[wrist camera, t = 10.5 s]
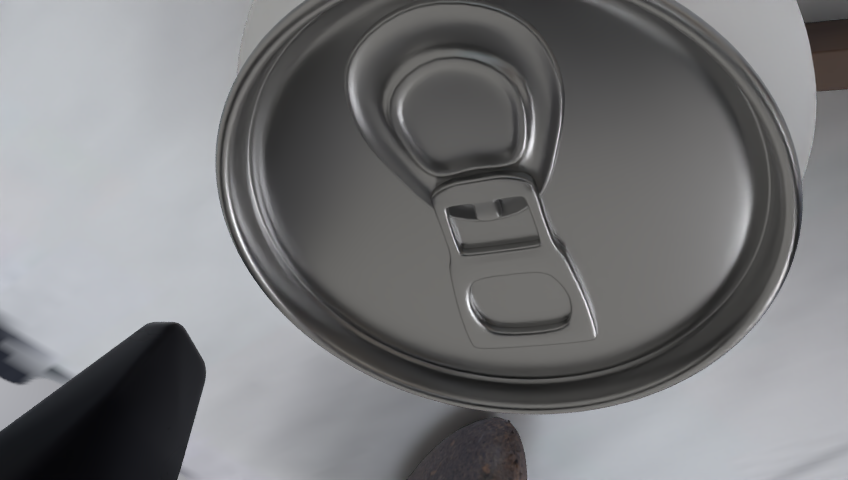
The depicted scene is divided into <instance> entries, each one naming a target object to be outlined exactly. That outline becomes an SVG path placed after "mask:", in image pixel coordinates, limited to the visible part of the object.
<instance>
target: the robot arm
mask: <svg viewBox="0 0 848 480" xmlns="http://www.w3.org/2000/svg"><path fill="white" fill-rule="evenodd" d="M205 378H206V367H205V363H204V361H203V359H202V357H201V355H200V354H199V352H198V350H197V349H196V347H195V345H194V343H193V342H192V340H191V338H190V337H189V335H188V333H187V331H186V330H185V328H184V327H183V326H182V325H180V324H179V323H176V322H152V323H149V324H146V325H145V326H143V327H142V328H140V329H139V330H138V331H136V332H135V333H134V334H132V335H131V336H130V337H128V338H127V339H126V340H124V341H123V342H121V343H120V344H119V345H117V346H116V347H115V348H113V349H112V350H111V351H109V352H108V353H106V354H105V355H104V356H102V357H101V358H100V359H98V360H97V361H96V362H94V363H93V364H91V365H90V366H89V367H87V368H86V369H85V370H83V371H82V372H81V373H79V374H78V375H77V376H75V377H74V378H72V379H71V380H70V381H68V382H67V383H66V384H64V385H63V386H62V387H60V388H59V389H57V390H56V391H55V392H53V393H52V394H51V395H50V396H48V397H47V398H45V399H44V400H43V401H41V402H40V403H39V404H37V405H36V406H34V407H33V408H32V409H31V410H29V411H28V412H26V413H25V414H23V415H22V416H21V417H19V418H18V419H17V420H15V421H14V422H13V423H11V424H10V425H8V426H7V427H6V428H4V429H3V430H2V431H0V480H177V479H178V475H179V472H180V469H181V466H182V462H183V458H184V455H185V451H186V448H187V444H188V440H189V437H190V433H191V430H192V426H193V422H194V419H195V415H196V412H197V408H198V404H199V401H200V397H201V394H202V390H203V386H204V383H205Z"/></svg>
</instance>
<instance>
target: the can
mask: <svg viewBox="0 0 848 480" xmlns="http://www.w3.org/2000/svg"><path fill="white" fill-rule="evenodd" d="M816 105H817V97H816V81H815V72H814V66H813V60H812V54H811V48H810V43H809V39H808V35H807V31H806V27H805V24H804V21H803V18H802V15H801V12H800V9H799V7H798V4H797V1H796V0H254V1H253V4H252V6H251V9H250V12H249V15H248V17H247V21H246V24H245V28H244V32H243V36H242V40H241V46H240V52H239V60H238V69H237V77H236V79H235V81H234V83H233V85H232V87H231V89H230V92H229V94H228V97H227V100H226V102H225V105H224V109H223V112H222V116H221V120H220V124H219V129H218V135H217V144H216V179H217V188H218V194H219V199H220V204H221V208H222V212H223V216H224V219H225V222H226V225H227V228H228V230H229V233H230V236H231V238H232V240H233V242H234V245H235V247H236V249H237V251H238V253H239V255H240V257H241V258H242V260H243V262H244V264H245V265H246V267H247V269H248V270H249V272H250V273H251V275H252V276H253V278H254V279H255V281H256V282H257V284H258V285H259V286H260V288H261V289H262V290H263V292H264V293H265V294H266V295H267V297H268V298H269V299H270V300H271V301H272V302H273V304H274V305H275V306H276V307H277V308H278V309H279V310H280V311H281V312H282V313H283V314H284V315H285V316H286V317H287V318H288V319H289V320H290V321H291V322H292V323H293V324H294V325H295V326H296V327H297V328H298V329H300V330H301V331H302V332H303V333H304V334H305V335H307V336H308V337H309V338H310V339H312V340H313V341H314V342H316V343H317V344H318V345H320V346H321V347H322V348H324V349H325V350H327V351H328V352H329V353H331V354H332V355H334V356H336V357H337V358H339V359H340V360H342V361H343V362H345V363H347V364H348V365H350V366H352V367H354V368H356V369H357V370H359V371H361V372H363V373H365V374H367V375H369V376H371V377H373V378H375V379H377V380H379V381H382V382H384V383H386V384H388V385H391V386H393V387H396V388H398V389H401V390H403V391H406V392H409V393H412V394H415V395H418V396H421V397H424V398H427V399H431V400H434V401H438V402H442V403H446V404H450V405H454V406H459V407H464V408H470V409H475V410H482V411H490V412H499V413H511V414H560V413H572V412H580V411H587V410H594V409H600V408H605V407H609V406H614V405H618V404H622V403H626V402H630V401H633V400H636V399H640V398H642V397H645V396H648V395H651V394H654V393H656V392H659V391H661V390H664V389H666V388H669V387H671V386H673V385H675V384H677V383H679V382H681V381H683V380H685V379H687V378H689V377H691V376H693V375H694V374H696V373H698V372H699V371H701V370H703V369H704V368H706V367H707V366H709V365H710V364H712V363H713V362H715V361H716V360H718V359H719V358H720V357H722V356H723V355H724V354H725V353H727V352H728V351H729V350H730V349H732V348H733V347H734V346H735V345H736V344H737V343H738V342H739V341H741V340H742V339H743V338H744V337H745V336H746V335H747V334H748V333H749V332H750V331H751V329H752V328H753V327H754V326H755V325H756V324H757V323H758V321H759V320H760V319H761V318H762V316H763V315H764V314H765V313H766V311H767V310H768V308H769V307H770V305H771V304H772V302H773V301H774V299H775V298H776V296H777V294H778V293H779V291H780V289H781V287H782V285H783V283H784V281H785V279H786V277H787V275H788V272H789V270H790V267H791V265H792V262H793V259H794V256H795V252H796V249H797V245H798V240H799V236H800V229H801V223H802V210H803V194H802V180H803V177H804V174H805V171H806V168H807V164H808V160H809V157H810V153H811V149H812V144H813V139H814V132H815V124H816Z"/></svg>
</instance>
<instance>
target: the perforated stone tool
mask: <svg viewBox="0 0 848 480" xmlns="http://www.w3.org/2000/svg"><path fill="white" fill-rule="evenodd" d="M407 480H527V469H526V459H525V453H524V449H523V446H522V442H521V439H520V436H519V434H518V432H517V431H516V429H515V428H514V427H513V426H512V424H511V423H510V421H509V420H508V421H506V420H504V419H502V418H498V417H494V418H490V419H484V420H480V421H477V422H474V423H472V424H470V425H467V426H465V427H462V428H461V429H459V430H458V431H456V432H454V433H453V434H451V435H450V436H448V437H447V438H446V439H444V440H443V441H442V442H440V443H439V444H438V445H437V446H436V447H435V448H434V449H433V450H432V451H431V452H430V453H429V454H428V455H427V456H426V457H425V458H424V459H423V461H422V462H421V463H420V464H419V465H418V466H417V468H416V469H415V470H414V471H413V473H412V474H411V475H410V476H409V478H408V479H407Z"/></svg>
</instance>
